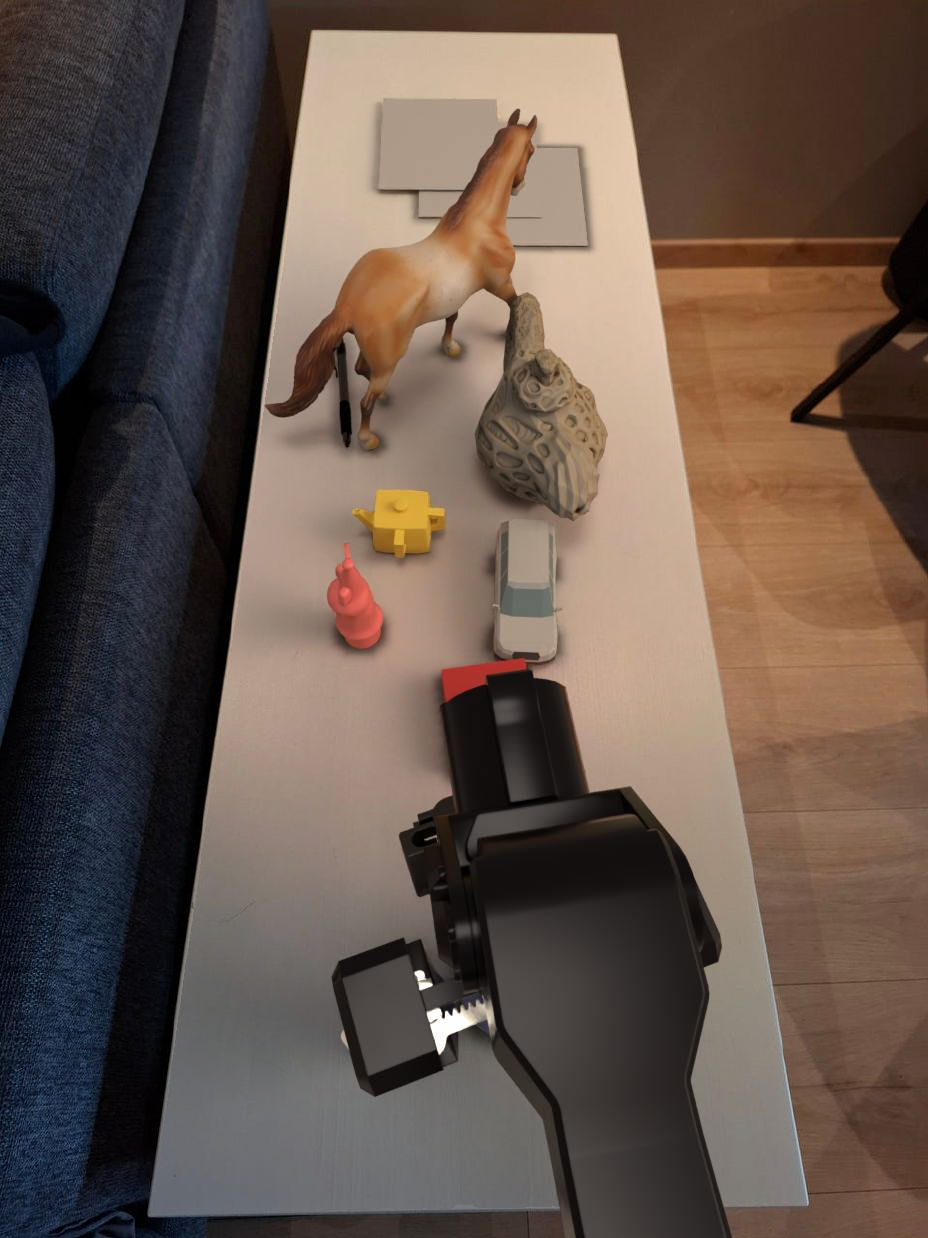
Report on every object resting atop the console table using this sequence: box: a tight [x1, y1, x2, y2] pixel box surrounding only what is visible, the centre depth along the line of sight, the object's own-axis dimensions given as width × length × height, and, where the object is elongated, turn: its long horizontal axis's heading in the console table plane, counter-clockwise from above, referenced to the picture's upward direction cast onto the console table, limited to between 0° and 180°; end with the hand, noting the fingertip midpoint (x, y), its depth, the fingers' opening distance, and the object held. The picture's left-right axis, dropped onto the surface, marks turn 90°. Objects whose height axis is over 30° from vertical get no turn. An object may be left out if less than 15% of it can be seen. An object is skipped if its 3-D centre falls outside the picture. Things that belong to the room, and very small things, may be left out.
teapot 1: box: [352, 489, 447, 559], centre depth 75 cm, size 8×6×5 cm
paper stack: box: [378, 97, 589, 247], centre depth 100 cm, size 23×25×1 cm
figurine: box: [326, 542, 384, 650], centre depth 68 cm, size 4×4×12 cm
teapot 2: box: [474, 292, 609, 522], centre depth 75 cm, size 21×12×15 cm, turn 12°
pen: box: [333, 337, 353, 449], centre depth 84 cm, size 14×2×1 cm, turn 6°
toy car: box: [491, 518, 563, 666], centre depth 73 cm, size 6×13×5 cm, turn 178°
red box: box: [440, 658, 528, 703], centre depth 67 cm, size 8×7×6 cm
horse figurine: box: [264, 108, 538, 451], centre depth 77 cm, size 31×8×21 cm, turn 133°
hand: (516, 975), depth 50 cm, fingers open, 8 cm apart
